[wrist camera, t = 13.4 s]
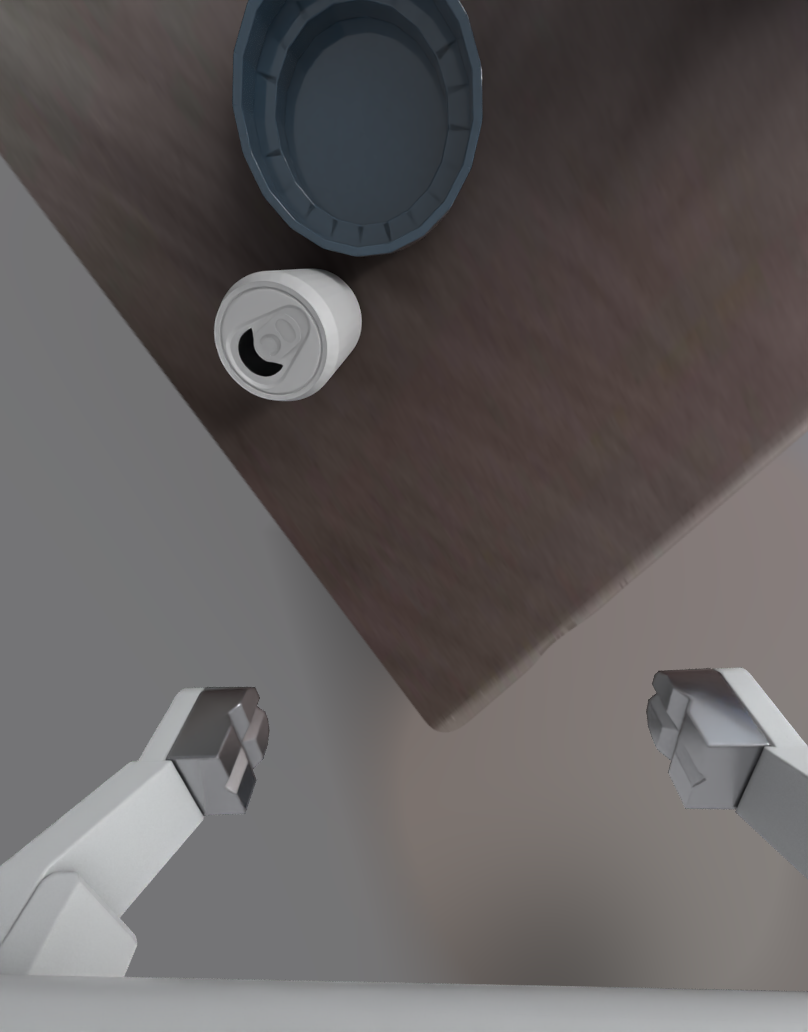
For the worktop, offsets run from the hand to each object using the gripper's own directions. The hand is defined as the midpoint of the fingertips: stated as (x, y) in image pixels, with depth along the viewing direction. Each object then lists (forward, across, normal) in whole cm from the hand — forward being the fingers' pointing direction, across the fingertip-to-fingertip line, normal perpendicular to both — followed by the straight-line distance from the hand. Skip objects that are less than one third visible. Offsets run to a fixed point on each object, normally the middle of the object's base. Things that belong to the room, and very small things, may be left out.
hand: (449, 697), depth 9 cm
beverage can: (+29, +8, -5) cm, 31 cm away
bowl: (+29, +3, -15) cm, 33 cm away
